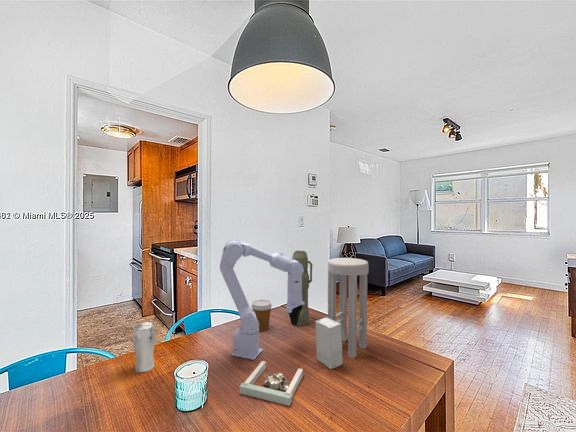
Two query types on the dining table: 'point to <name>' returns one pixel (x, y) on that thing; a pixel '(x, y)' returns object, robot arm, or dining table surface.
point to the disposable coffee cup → (262, 313)
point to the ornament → (276, 381)
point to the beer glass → (144, 346)
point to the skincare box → (329, 342)
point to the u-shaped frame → (267, 393)
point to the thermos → (304, 286)
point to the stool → (349, 299)
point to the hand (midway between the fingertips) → (294, 324)
